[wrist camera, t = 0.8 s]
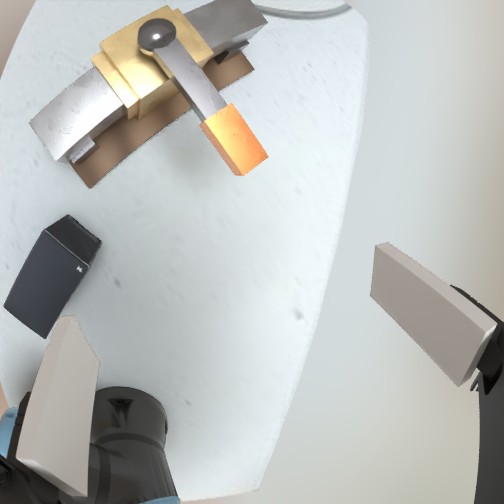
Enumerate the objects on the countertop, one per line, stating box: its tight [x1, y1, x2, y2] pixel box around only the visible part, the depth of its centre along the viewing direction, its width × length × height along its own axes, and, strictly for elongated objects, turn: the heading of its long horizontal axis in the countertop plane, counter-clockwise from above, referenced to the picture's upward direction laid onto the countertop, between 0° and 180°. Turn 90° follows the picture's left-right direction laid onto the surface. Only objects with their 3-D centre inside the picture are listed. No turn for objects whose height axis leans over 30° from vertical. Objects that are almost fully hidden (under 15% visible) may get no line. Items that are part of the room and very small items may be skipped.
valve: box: [29, 0, 268, 164], centre depth 24 cm, size 25×7×13 cm, turn 126°
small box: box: [4, 215, 102, 339], centre depth 28 cm, size 11×6×10 cm, turn 136°
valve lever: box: [137, 18, 268, 176], centre depth 20 cm, size 15×3×2 cm, turn 36°
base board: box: [69, 51, 254, 188], centre depth 30 cm, size 26×12×2 cm, turn 126°
